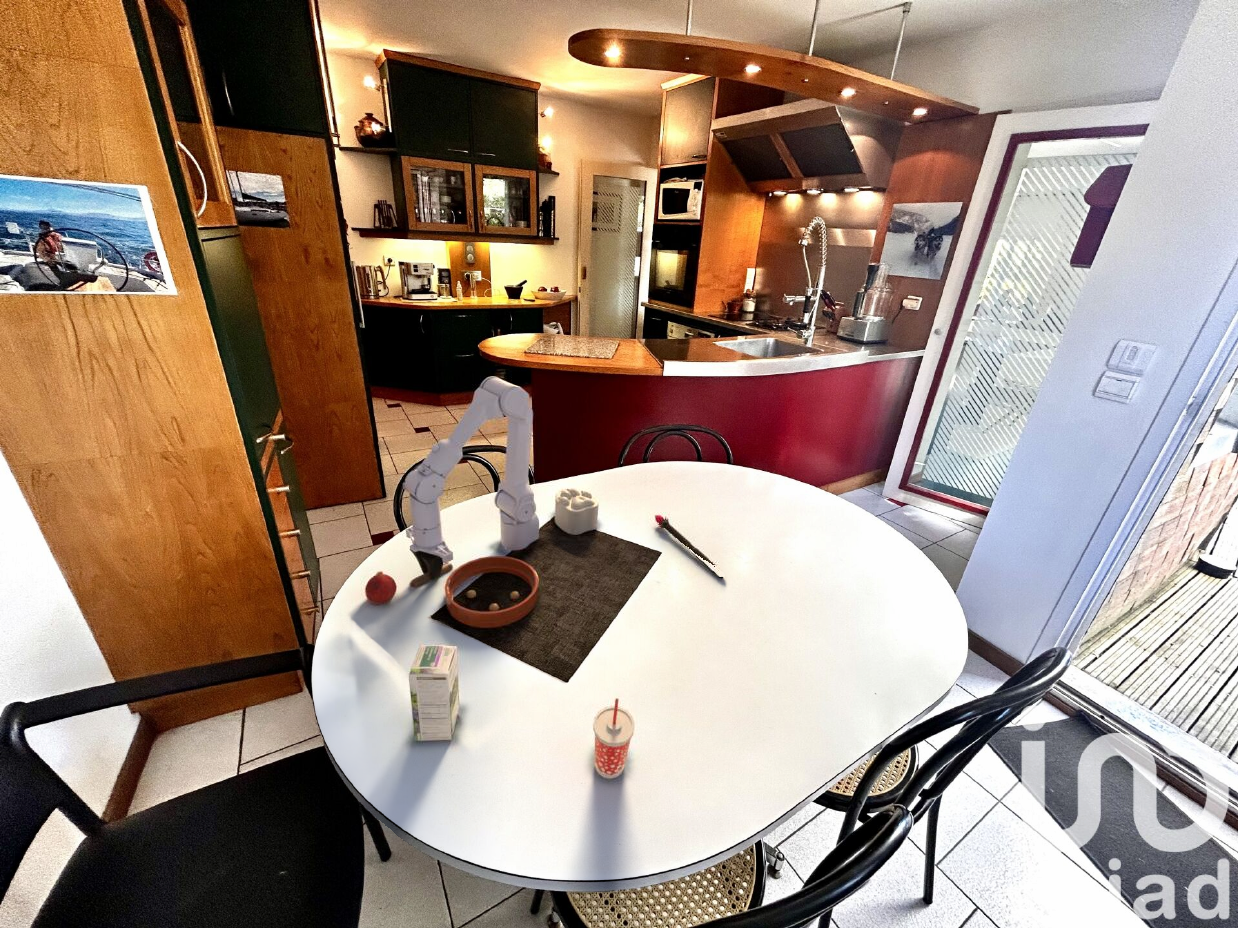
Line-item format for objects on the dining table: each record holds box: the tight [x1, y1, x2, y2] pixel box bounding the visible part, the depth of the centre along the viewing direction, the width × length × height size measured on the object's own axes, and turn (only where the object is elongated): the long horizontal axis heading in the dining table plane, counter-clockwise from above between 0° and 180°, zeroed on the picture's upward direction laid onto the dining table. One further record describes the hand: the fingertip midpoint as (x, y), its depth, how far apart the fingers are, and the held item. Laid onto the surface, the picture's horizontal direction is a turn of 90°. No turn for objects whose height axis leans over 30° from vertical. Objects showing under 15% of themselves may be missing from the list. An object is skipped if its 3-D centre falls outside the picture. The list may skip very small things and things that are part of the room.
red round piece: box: [364, 570, 398, 605], centre depth 102 cm, size 6×6×8 cm
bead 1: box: [466, 589, 477, 599], centre depth 106 cm, size 2×2×2 cm
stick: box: [409, 562, 454, 589], centre depth 110 cm, size 10×2×2 cm, turn 143°
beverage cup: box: [592, 697, 636, 780], centre depth 73 cm, size 6×6×14 cm
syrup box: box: [408, 644, 460, 742], centre depth 76 cm, size 6×6×14 cm
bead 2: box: [488, 602, 500, 612], centre depth 102 cm, size 2×2×2 cm
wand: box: [654, 514, 716, 568], centre depth 131 cm, size 4×4×30 cm
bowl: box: [444, 555, 539, 629], centre depth 106 cm, size 19×19×5 cm
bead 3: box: [509, 590, 520, 600], centre depth 106 cm, size 2×2×2 cm
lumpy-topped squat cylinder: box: [554, 487, 599, 536], centre depth 138 cm, size 10×13×9 cm
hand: (431, 574), depth 110 cm, fingers closed on stick, 2 cm apart
